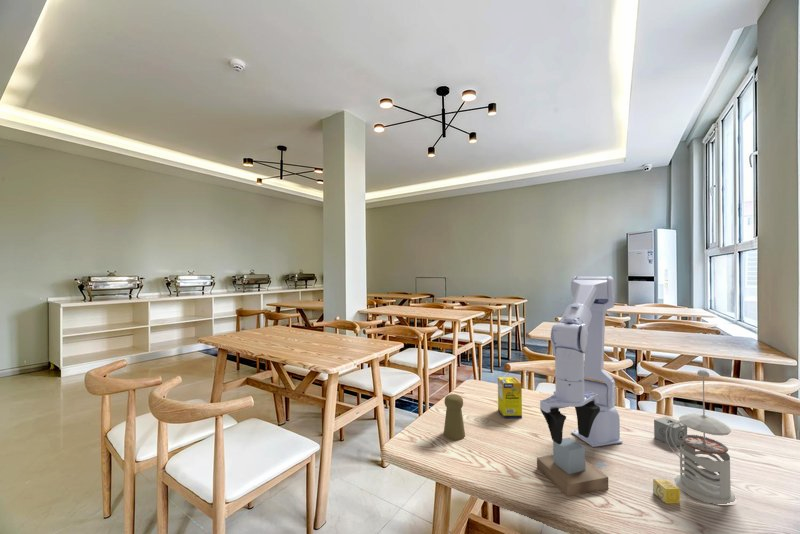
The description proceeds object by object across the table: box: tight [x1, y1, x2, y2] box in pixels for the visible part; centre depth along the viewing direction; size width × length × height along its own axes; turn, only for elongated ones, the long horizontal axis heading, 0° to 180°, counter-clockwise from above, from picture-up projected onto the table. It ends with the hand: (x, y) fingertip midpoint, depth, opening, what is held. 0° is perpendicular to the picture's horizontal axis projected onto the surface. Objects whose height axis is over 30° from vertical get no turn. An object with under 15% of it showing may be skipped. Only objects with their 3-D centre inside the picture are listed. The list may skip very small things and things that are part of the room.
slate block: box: [552, 437, 586, 474], centre depth 74 cm, size 4×4×5 cm
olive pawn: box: [443, 393, 466, 441], centre depth 94 cm, size 6×6×11 cm
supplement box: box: [497, 376, 523, 419], centre depth 106 cm, size 6×6×11 cm
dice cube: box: [653, 416, 688, 448], centre depth 89 cm, size 5×5×5 cm
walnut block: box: [536, 454, 609, 498], centre depth 74 cm, size 10×10×3 cm
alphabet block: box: [652, 478, 681, 505], centre depth 67 cm, size 3×3×3 cm
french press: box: [666, 369, 736, 505], centre depth 70 cm, size 10×12×25 cm
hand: (570, 438), depth 74 cm, fingers open, 7 cm apart
